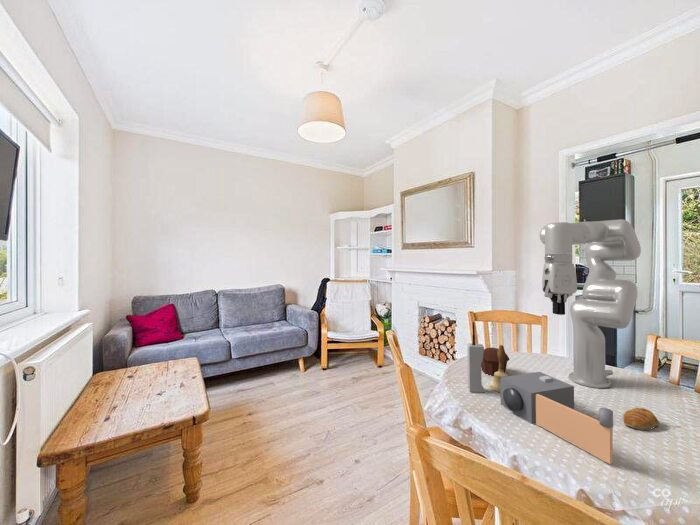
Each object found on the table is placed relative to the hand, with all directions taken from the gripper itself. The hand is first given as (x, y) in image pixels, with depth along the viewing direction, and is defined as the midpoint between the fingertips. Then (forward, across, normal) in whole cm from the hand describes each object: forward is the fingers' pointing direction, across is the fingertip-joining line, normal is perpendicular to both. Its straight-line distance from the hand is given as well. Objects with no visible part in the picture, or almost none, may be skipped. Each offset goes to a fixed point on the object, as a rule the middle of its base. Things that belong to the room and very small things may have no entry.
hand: (558, 313), depth 99 cm
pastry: (+30, +9, -18) cm, 35 cm away
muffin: (+29, -4, +26) cm, 39 cm away
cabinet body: (+29, -13, -3) cm, 32 cm away
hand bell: (+29, -12, +13) cm, 34 cm away
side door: (+29, -19, -19) cm, 39 cm away
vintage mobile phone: (+29, -22, +14) cm, 39 cm away
